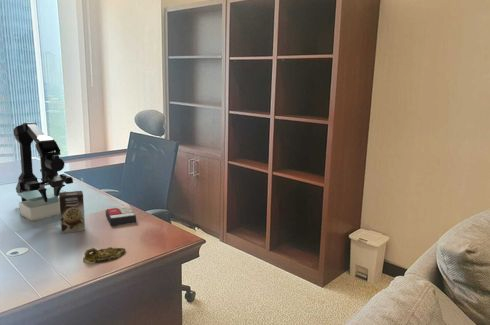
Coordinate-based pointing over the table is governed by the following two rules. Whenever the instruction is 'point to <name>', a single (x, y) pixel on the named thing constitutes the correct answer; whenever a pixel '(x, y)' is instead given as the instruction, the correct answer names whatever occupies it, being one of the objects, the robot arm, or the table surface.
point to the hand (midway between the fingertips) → (51, 201)
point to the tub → (38, 209)
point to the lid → (36, 195)
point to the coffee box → (72, 211)
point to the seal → (102, 255)
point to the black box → (120, 216)
